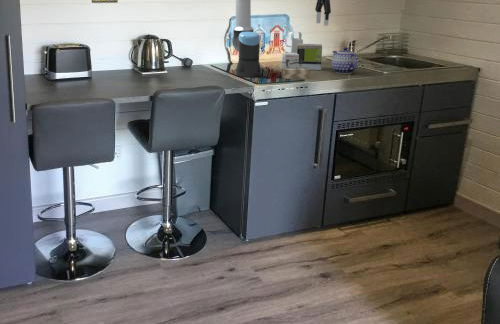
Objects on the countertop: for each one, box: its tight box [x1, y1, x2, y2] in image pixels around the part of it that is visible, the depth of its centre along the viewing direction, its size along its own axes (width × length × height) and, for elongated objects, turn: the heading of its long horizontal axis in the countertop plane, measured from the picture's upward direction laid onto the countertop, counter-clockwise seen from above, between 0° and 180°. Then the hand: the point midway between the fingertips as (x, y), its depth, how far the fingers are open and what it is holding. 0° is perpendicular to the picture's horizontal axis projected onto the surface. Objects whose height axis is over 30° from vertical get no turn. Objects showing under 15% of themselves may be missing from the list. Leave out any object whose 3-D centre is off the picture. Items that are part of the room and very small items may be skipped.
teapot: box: [331, 46, 359, 75], centre depth 340 cm, size 25×15×15 cm, turn 24°
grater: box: [284, 31, 304, 53], centre depth 365 cm, size 10×10×20 cm
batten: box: [281, 69, 311, 80], centre depth 320 cm, size 15×3×5 cm, turn 103°
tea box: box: [297, 43, 323, 71], centre depth 350 cm, size 15×10×15 cm, turn 84°
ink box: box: [281, 52, 299, 75], centre depth 332 cm, size 9×5×12 cm, turn 105°
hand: (321, 24), depth 341 cm, fingers open, 13 cm apart
